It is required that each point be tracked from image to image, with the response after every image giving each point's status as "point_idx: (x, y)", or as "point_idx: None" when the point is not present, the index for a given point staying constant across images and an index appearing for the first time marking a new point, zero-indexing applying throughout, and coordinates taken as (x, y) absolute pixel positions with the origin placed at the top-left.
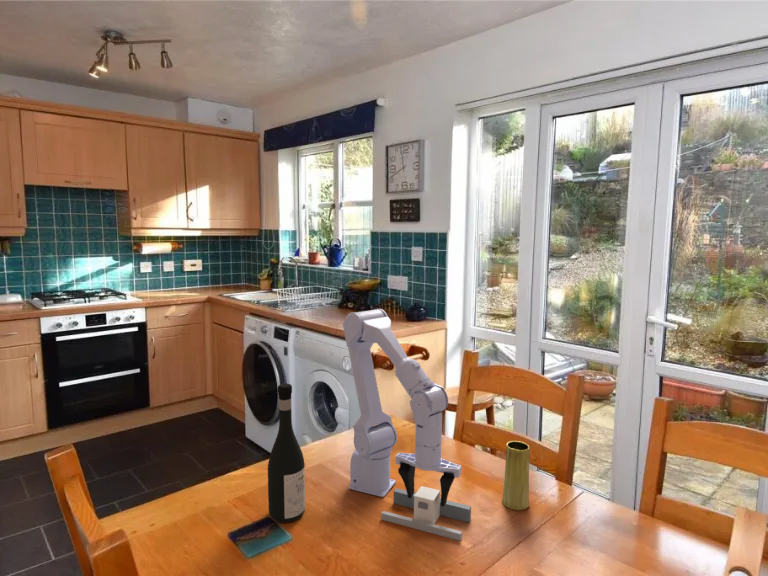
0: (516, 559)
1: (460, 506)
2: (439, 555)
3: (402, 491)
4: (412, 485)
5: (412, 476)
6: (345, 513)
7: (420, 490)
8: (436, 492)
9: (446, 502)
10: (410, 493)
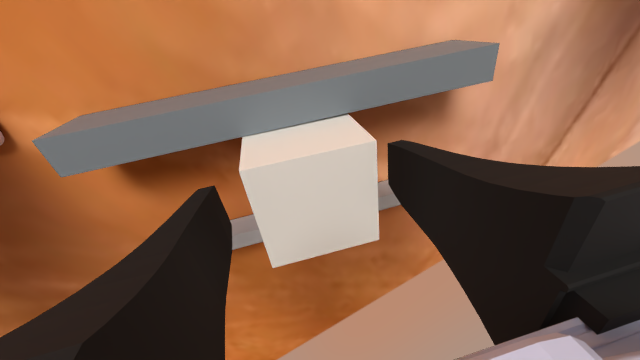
0: (578, 152)
1: (449, 80)
2: (401, 250)
3: (101, 145)
4: (208, 239)
5: (192, 296)
6: (37, 299)
7: (268, 213)
8: (363, 173)
9: (377, 91)
10: (230, 247)
